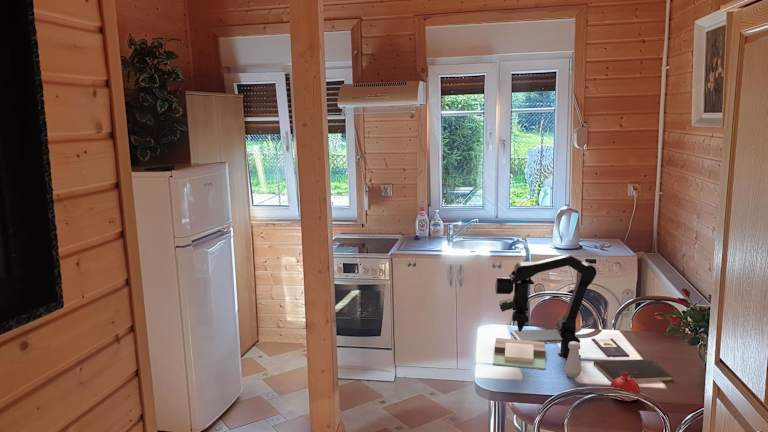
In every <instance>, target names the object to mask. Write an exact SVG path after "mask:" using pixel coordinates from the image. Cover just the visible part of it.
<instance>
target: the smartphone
mask: <svg viewBox="0 0 768 432" xmlns="http://www.w3.org/2000/svg"><path fill="white" fill-rule="evenodd" d="M510 334H511V336H513V337H514V338H513V339H515V340H528V341H540V342H558V343H562V340H563V339H562V338H561V336H560V335H559V333H558V331H557V328H556V329H555V328H554V329H524V330H523V329H522V331H518V329H517V330H516V329H515V330H511V331H510ZM579 340H580V338H579ZM580 341H581V340H580Z"/></svg>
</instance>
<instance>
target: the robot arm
mask: <svg viewBox="0 0 768 432" xmlns="http://www.w3.org/2000/svg"><path fill="white" fill-rule="evenodd" d="M565 267H570V268H572V269H573V270H575V271H576V279H575V280H576V281H575V282H576V283H575V286H574V288H573V292H572V294H571V297H570V300H569V302H568V306H567V309H566V312H565V314H564V315H563V316H562V317H560V316H559V317H558V319H557V323H556V324H555V326H556V329H557V331H558V333H559V335H560V336H561V338H562V339H563V340H562V342H560V352H559V353H558V354H557V355H558V356H560V357H563V358H564V359H568V355H569V351H570V349H569V348H568V344H569V342H572V341H575V342H578V343H579V344H581V340H579V339H580V338H579V336H578V335H577V334H576V331H577V330H576V328H577V318H578V315H579V312H580V310H581V307H582V304H583V301H584V298H585V294H586V292H587V290H588V288H589V286H590V285H591V284H592V283H593V281H594V280H595V277H596V276H597V269H596V267H594V265H592V263H590V262H589V261H583V260H580V259H579V258H576V257H575V256H573V255H571V254H570V253H565V254H562V255H559V256H555V257H550V258H547V259H542V260H538V261H519V262H517V263H516V264H515V265H514V268H513V270H512V272H511V273H510V274H509V275H508V277H506V276H505V277H502V276H496V280H495V284H494V287H495V289H494V290H495V291H494V292H495V294H496V295H511V294H512V293H513V295H512V298H507V299H504V300H500V301H499V302H498V303H499V308H500V311H501V312H505V311H509V310H511V309H512V315H511V316H512V317H511V321H512V322H516V324H517V325H516V326H517V330H518V331H522V330H523V328H524V327H525V325H526V323H528V322H529V312H528V311H529V300H530V299H529V294H530V285H535V282H534V280H533V279H532V277H534V276H535V275H537V274H540V273H542V272H546V271H552V270H555V269H559V268H565ZM581 357H582V355H580V354H579V358H581Z"/></svg>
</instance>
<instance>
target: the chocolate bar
mask: <svg viewBox="0 0 768 432" xmlns="http://www.w3.org/2000/svg"><path fill="white" fill-rule="evenodd" d="M591 341H592V342H593V343H594V344H595V345H596V346H597V347H598V348H599V350H600V351H602V354H604V355H605V357H609V358H611V357H612V358H613V357H614V358H617V357H618V358H619V357H621V358H622V357H626V358H627V357H629V358H630V355H629V353H627V351H626V350H625V349H623V347H621V346H620V345H619V344H618V343H617V342H616V341H615V340H614V339H613V338H591Z"/></svg>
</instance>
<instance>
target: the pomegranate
mask: <svg viewBox="0 0 768 432" xmlns="http://www.w3.org/2000/svg"><path fill="white" fill-rule="evenodd" d="M624 374H625V376H624V375H623V374H620V375H622V376H621V377H614V378H616V379H615V380H613V381H612V382H611V381H610V382H611V383H610V385H609V386H610V387H614V388H620V389H624V390H628V391H632V392H636V393H640V394H641V393H642V392H641V388H640V385H639V383H638V381H636V382H635V380H634V379H635V378H629V377H630V376H631V375H630V376H628V377H627V372H624ZM631 377H632V376H631ZM637 380H638V379H637Z"/></svg>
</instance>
